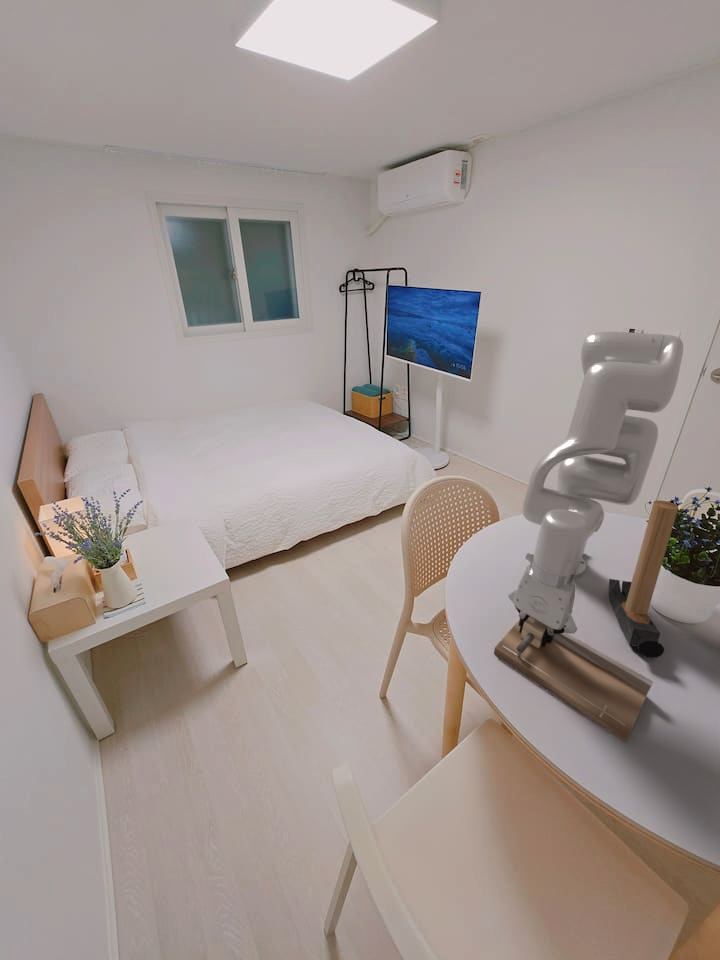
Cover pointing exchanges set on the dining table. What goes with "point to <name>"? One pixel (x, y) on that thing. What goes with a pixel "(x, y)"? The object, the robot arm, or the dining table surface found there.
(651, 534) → the hammer
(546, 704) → the dining table surface
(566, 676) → the board
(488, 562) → the dining table surface
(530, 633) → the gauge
